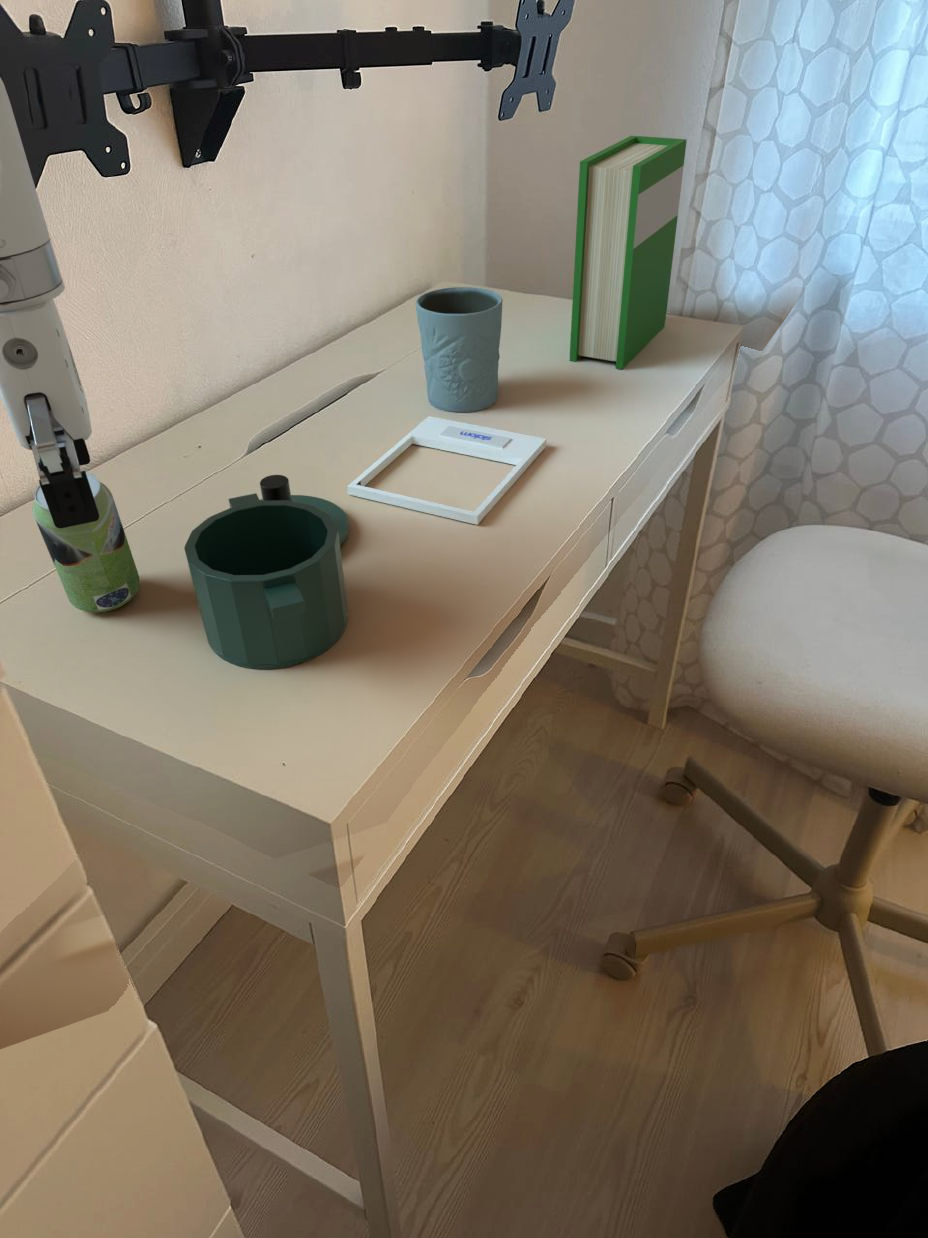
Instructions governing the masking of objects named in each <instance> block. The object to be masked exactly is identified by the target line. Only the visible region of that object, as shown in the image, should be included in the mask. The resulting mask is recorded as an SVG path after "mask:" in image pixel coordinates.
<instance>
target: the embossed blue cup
mask: <svg viewBox="0 0 928 1238" xmlns="http://www.w3.org/2000/svg"><path fill="white" fill-rule="evenodd" d="M503 301H504V300H503V297H502V296H501V295H500V294H498V293H497V292H495V291H494V290H491V289H487V288H482V287H472V286H455V287H454V286H453V287H446V288H444V287H443V288H439V289H434V290H430V291H428V292H425V293H423V294H421V295H419V296H418V297H417V298H416V299H415V303H414V304H415V310H416V311H415V312H416V317H417V324H418V328H419V334H420V335H419V336H420V341H421V342H420V344H421V351H422V358H423V362H424V365H423V367H424V372H425V381H426V392H427V398H428V402H429V403H430V405H431V406H433V407H434V408H436V409H438V410H440V411H444V412H448V413H449V412H450V413H473V412H478V411H482V410H485V409H487V408H490V407H492V406H493V405H494V404H495V403H496V401H497V399H498V394H499V361H500V342H501V335H502V334H501V333H502V322H503V321H502V319H503V315H502V314H503Z"/></svg>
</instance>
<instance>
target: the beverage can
mask: <svg viewBox="0 0 928 1238" xmlns="http://www.w3.org/2000/svg"><path fill="white" fill-rule="evenodd" d="M85 472H86V475H87V478H88V481H89V484H90V487H91V491H92V494H93V497H94V500H95V503H96V506H97V509H98V512H99V519H98V520H97V521H94V522H90V523H85V524H80V525H75V526H71V527H66V528H57V527H56V526H55V525H54V522H53V519H52V516H51V514H50V511H49V508H48V505H47V503H46V500H45V497H44V494H43V492H42V489H41V486H40V484H39V485H38V486H37V487H36V489H35V490H34V491H35V492H34V501H33V503H32V515H33V517H34V520H35V523H36V525H37V527H38V530H39V532H40V534H41V537H42V539H43V542H44V544H45V547H46V549H47V551H48V554H49V556H50V559H51V560H52V563H53V565H54V568H55V570H56V573H57V576H58V577H59V580H60V582H61V584H62V586H63V589H64V591H65V594H66V597H67V599H68V601H69V603H70V604H71V605H72V606H73V607H75V608H76V609H77V610H80V611H82V612H86V613H105V612H110V611H114V610H116V609H118V608H120V607H122V606H124V605H126V604H128V603H129V602H130V601H131V600H132V599H133V598H134V597H135V596H136V595H137V593H138V591H139V589H140V586H141V578H140V575H139V572H138V569H137V566H136V562H135V559H134V557H133V554H132V550H131V547H130V545H129V541H128V538H127V535H126V532H125V529H124V526H123V523H122V520H121V517H120V513H119V511H118V508H117V504H116V502H115V499H114V495H113V494H112V492H111V489H109V488H108V486H107V485H106V484H104V483H103V482H101V481H100V479H99V478H98V477H97V476H96V475H94V474H93V473H90V472H87V471H85Z"/></svg>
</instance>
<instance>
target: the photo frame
mask: <svg viewBox="0 0 928 1238" xmlns="http://www.w3.org/2000/svg"><path fill="white" fill-rule="evenodd" d="M412 445H417V446H420V447H421V446H422V447H426V448H431V449H435V450H442V451H447V452H451V453H455V454H461V455H466V456H470V457H475V458H480V459H484V460H490V461H494V462H498V463H504V464H509V465H513V466H514V467H513V468H512V469H511V470H510V471H509V473H508V474H506V476H505V477H504V478H503V479H502V480H501V481H500V483H498V485H496V487H495V488H494V489H493V490H492V491H491V493H489V494H488V496H487V497H485V499H484V500H483V501H482V503H480V505H479V506H478V507H477V508H476V509H475V510H473V511H472V510H468V509H464V508H460V507H455V506H452V505H447V504H443V503H437V502H433V501H429V500H425V499H420V498H416V497H412V496H408V495H405V494H399V493H394V492H391V491H386V490H382V489H377V488H373V487H369V486H367V484H368V483H369V482H371V481H372V480H373V479H374V478H375V477H376V476H377V475H379V474H380V473H381V472H382V471H383V470H384V469H386V467H387V466H389V465H390V464H391V463H393V461H394V460H396V459H397V458H398V457H400V455H401V454H402V453H403V452H405V451H406V450H407V449H408V448H409V447H410V446H412ZM546 447H547V438H545V437H539V436H533V435H529V434H523V433H518V432H513V431H509V430H504V429H503V430H502V429H498V428H492V427H487V426H482V425H476V424H472V423H471V424H470V423H468V422H462V421H455V420H451V419H446V418H441V417H436V416H430V415H428V416H427V417H426V418H425V419H424V420H422V421H421V422H420V423H419V424H418V425H417V426H415V427H414V428H413V429H412V430H411V431H410V432H409V433H407V434H406V435H405V436H403V438H402V439H400V440H399V441H398V442H397V443H395V444H394V445H393V446H392V447H391V448H389V449H388V450H387V451H386V452H385V453H384V454H383V455H381V456H380V457H379V458H378V459H377V460H376V461H375V462H374V463H372V464H371V465H370V466H369V467H367V468H366V469H365V470H364V471H363V472H362V473H360V475H358V476H357V477H356V478H354V480H352V481H351V482H350V483H349V484H348V485H347V486H346V489H347V495H349V496H352V497H353V496H354V497H359V498H363V499H367V500H371V501H375V502H380V503H383V504H387V505H391V506H396V507H399V508H405V509H409V510H413V511H418V512H421V513H426V514H431V515H435V516H439V517H443V518H447V519H451V520H456V521H459V522H464V523H468V524H473V525H476V526H477V525H479V524H480V523H481V521H482V520H483V519H484V518H485V517H486V516H487V514H489V512H490V511H491V510H492V509H493V508H494V506H495V505H496V504H498V502H499V501H500V499H502V498H503V497H504V495H505V494H506V493H507V492H508V491H509V490H510V489H511V488H512V486H513V485H514V484H515V483H516V482H517V481H518V479H519V478H520V477H521V476H522V475H523V474H524V472H525V471H526V470H527V469H528V468H529V467H530V466H531V464H532V463H533V462H534V461H535V460H536V459H537V458H538V457H539V455H540V454H541V453H542V452H543V451H544V450H545V449H546Z"/></svg>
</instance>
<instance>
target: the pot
mask: <svg viewBox="0 0 928 1238" xmlns="http://www.w3.org/2000/svg"><path fill="white" fill-rule="evenodd" d="M260 500H261V499H260V498H259V495H258V493H256V492H255V493H250V494H245V495H240V496H236V497H231V498H228V503H229V508H227V509H224V510H222V511H220V512H218V513H216V514H215V513H214V514H213V515H211V516H209V517H207V518H206V519H205V520H204V521H202V522H201V523H200V524H198V525H197V526H196V527H195V528H194V529H193V530H192V531H190V534H189V536H188V538H187V541H186V542H185V545H184V548H183V549H184V553H185V557H186V561H187V566H188V569H189V573H190V576H191V580H192V584H193V589H194V592H195V596H196V600H197V604H198V605H197V606H198V608H199V613H200V616H201V621H202V625H203V629H204V632H205V636H206V640H207V643H208V645H209V647H210V649H211V650H212V652H213V653H214V654H215V655H217V656H218V657H219V658H221V660H223V661H225V662H227V663H229V664H232V665H234V666H237V667H241V668H246V669H251V670H252V669H254V670H276V669H282V668H288V667H292V666H293V667H294V666H296V665H301V664H303V663H306V662H309V661H311V660H313V659H315V658H317V657H319V656H321V655H323V654H324V653H326V652H327V651H328V650H330V649H331V648H332V647H333V646H335V644H336V643H337V642H338V641H339V640H340V638H341V637H342V635H343V634H344V632H345V630H346V628H347V624H348V611H349V610H348V609H349V608H348V607H349V606H348V602H347V601H348V600H347V592H346V591H347V590H346V584H345V576H344V575H345V574H344V568H343V560H342V552H341V546H340V543H339V535H338V529H337V527H336V525H335V524H334V522H333V520H332V518H331V516H330V515H328V514H327V513H325V512H323V511H321V510H320V509H318V508H316V507H315V506H312V505H308V504H303V503H299V502H294V501H288V500H282V501H260Z"/></svg>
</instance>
